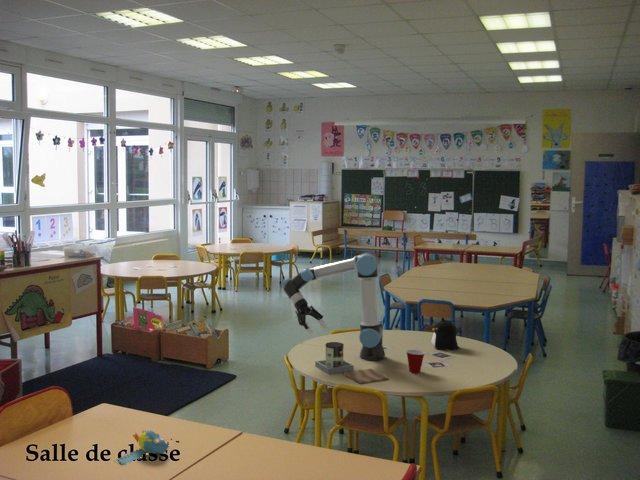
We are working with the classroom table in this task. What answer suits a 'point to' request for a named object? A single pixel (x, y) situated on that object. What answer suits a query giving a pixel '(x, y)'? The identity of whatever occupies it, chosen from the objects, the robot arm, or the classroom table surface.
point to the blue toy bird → (145, 446)
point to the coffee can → (334, 354)
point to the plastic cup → (415, 360)
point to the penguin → (444, 335)
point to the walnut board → (365, 376)
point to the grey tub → (344, 368)
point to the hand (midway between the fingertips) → (318, 331)
